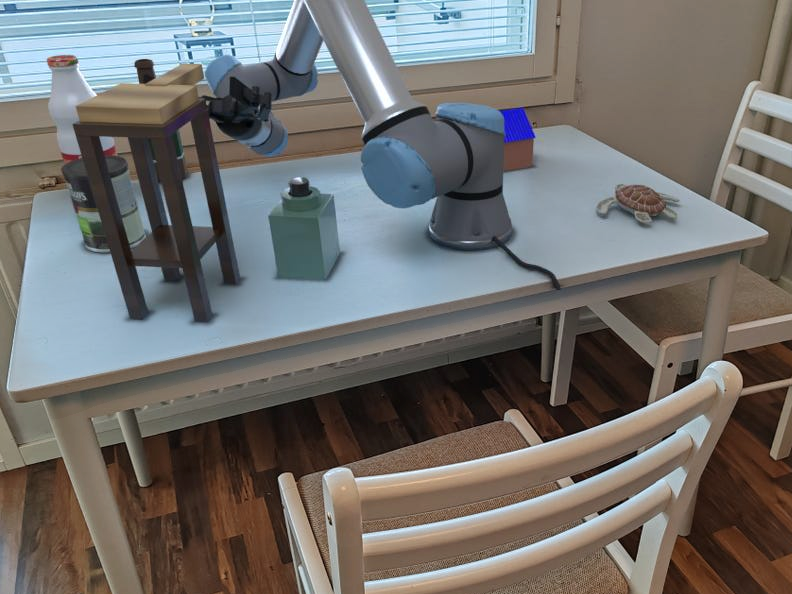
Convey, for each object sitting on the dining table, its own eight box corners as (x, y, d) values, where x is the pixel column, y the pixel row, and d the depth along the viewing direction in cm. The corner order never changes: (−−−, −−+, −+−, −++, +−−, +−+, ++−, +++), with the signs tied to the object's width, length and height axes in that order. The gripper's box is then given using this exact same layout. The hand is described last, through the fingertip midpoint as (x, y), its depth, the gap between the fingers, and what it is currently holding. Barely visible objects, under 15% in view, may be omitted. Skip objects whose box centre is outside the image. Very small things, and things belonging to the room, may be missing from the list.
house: (432, 164, 169) (430, 112, 162) (508, 151, 176) (510, 101, 170) (455, 180, 160) (454, 126, 153) (534, 166, 168) (537, 114, 161)
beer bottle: (176, 184, 157) (149, 65, 143) (143, 181, 158) (113, 63, 144) (195, 172, 163) (171, 57, 150) (163, 169, 164) (136, 55, 151)
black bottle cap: (307, 199, 117) (305, 184, 116) (288, 198, 118) (285, 184, 116) (313, 191, 120) (311, 177, 119) (293, 190, 120) (291, 176, 119)
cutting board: (162, 124, 95) (158, 107, 93) (79, 121, 95) (74, 104, 94) (229, 79, 114) (227, 64, 113) (160, 77, 115) (157, 62, 114)
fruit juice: (134, 196, 151) (95, 50, 135) (125, 214, 143) (83, 62, 127) (85, 199, 149) (40, 52, 134) (73, 217, 142) (24, 64, 126)
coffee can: (99, 258, 127) (74, 179, 119) (76, 240, 133) (51, 164, 125) (156, 241, 133) (137, 165, 125) (132, 224, 139) (112, 150, 131)
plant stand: (207, 322, 110) (162, 127, 94) (129, 318, 111) (71, 124, 94) (240, 279, 121) (205, 98, 105) (169, 275, 122) (124, 95, 106)
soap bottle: (325, 280, 121) (316, 205, 114) (278, 277, 122) (266, 203, 115) (340, 253, 130) (332, 182, 122) (295, 251, 130) (285, 180, 123)
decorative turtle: (653, 190, 156) (656, 167, 153) (701, 220, 143) (705, 195, 141) (577, 202, 150) (579, 179, 147) (620, 234, 137) (623, 209, 135)
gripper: (309, 143, 133) (267, 111, 112) (175, 139, 135) (109, 107, 114) (310, 101, 133) (269, 61, 112) (176, 97, 135) (110, 57, 114)
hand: (188, 84), depth 113 cm, fingers open, 13 cm apart
